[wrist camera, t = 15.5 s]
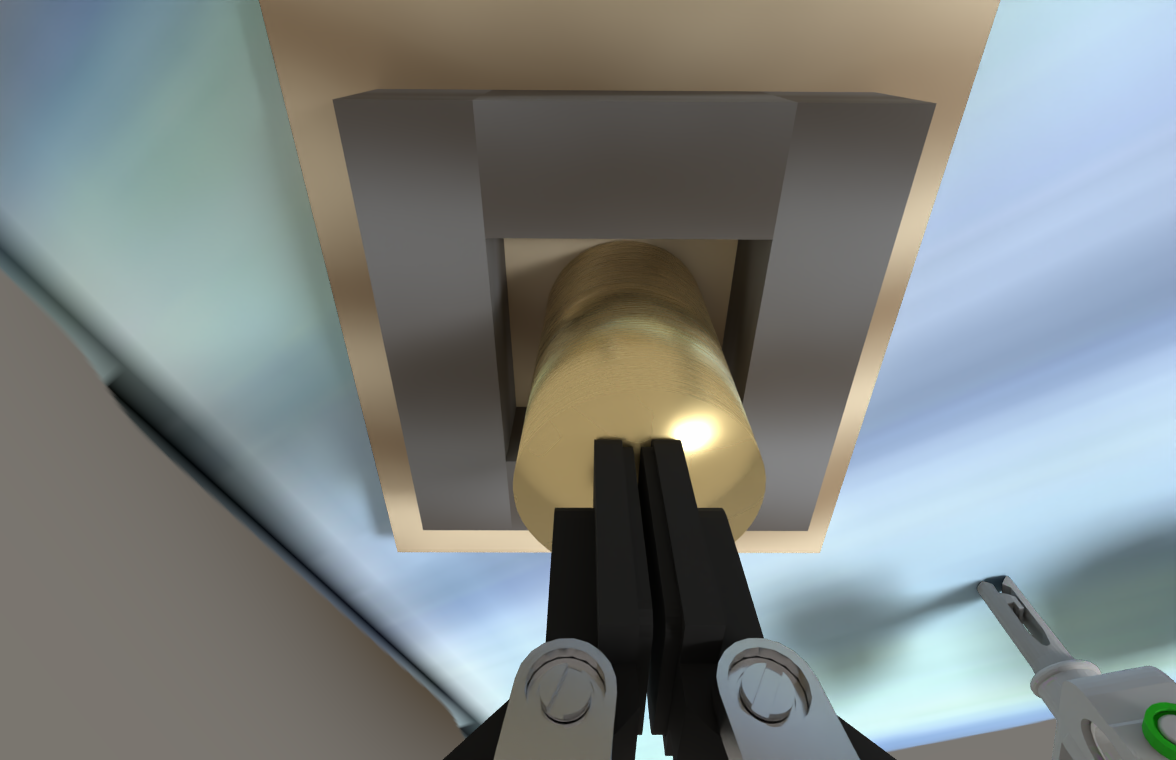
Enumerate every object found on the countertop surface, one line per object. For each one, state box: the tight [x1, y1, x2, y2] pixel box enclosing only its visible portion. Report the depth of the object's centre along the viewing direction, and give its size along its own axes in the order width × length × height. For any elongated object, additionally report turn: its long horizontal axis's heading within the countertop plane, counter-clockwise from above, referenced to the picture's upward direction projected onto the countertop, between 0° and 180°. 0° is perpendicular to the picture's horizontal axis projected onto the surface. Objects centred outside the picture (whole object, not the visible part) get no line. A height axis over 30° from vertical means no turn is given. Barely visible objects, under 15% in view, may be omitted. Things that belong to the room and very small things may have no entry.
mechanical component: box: [977, 576, 1176, 760], centre depth 23 cm, size 3×10×10 cm, turn 21°
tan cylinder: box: [513, 241, 766, 552], centre depth 14 cm, size 5×5×8 cm
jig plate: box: [259, 0, 1000, 553], centre depth 17 cm, size 22×18×4 cm
